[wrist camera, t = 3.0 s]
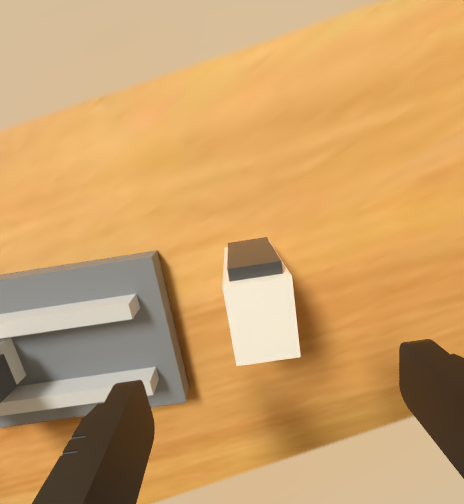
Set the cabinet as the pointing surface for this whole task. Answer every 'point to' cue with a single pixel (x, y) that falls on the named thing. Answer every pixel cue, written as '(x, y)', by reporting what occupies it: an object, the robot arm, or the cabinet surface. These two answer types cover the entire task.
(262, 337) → the cream block
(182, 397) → the rail mount
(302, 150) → the cabinet surface
